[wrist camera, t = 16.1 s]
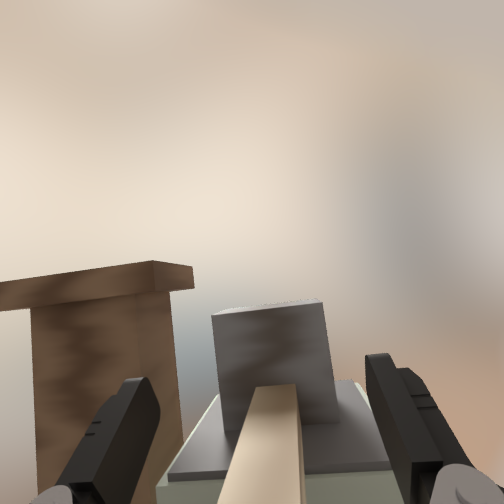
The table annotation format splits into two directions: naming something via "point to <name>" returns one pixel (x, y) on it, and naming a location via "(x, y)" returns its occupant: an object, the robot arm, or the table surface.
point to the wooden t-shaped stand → (100, 356)
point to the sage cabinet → (314, 454)
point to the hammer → (272, 395)
